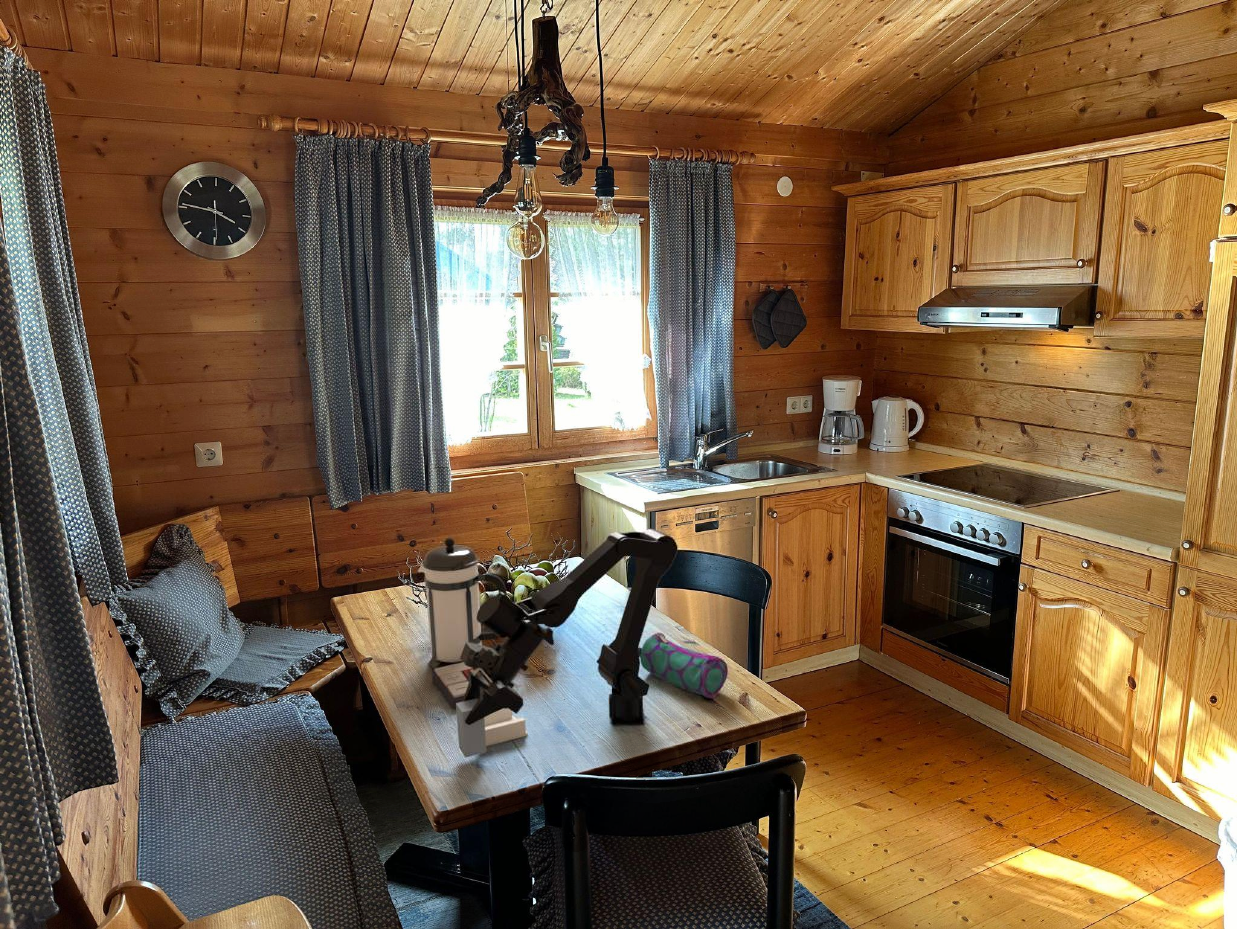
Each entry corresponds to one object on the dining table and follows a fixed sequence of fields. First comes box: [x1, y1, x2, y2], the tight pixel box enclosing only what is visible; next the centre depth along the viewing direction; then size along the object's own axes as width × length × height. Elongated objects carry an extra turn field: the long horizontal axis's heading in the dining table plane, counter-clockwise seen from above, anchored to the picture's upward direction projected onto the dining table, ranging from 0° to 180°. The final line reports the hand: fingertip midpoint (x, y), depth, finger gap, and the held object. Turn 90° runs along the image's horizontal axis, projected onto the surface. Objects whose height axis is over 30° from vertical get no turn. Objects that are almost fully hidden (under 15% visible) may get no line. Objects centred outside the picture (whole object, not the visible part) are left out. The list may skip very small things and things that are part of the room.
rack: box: [484, 708, 529, 747], centre depth 173 cm, size 10×9×4 cm
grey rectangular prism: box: [455, 698, 487, 758], centre depth 163 cm, size 4×4×9 cm
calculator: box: [431, 661, 490, 711], centre depth 192 cm, size 11×4×15 cm
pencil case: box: [638, 632, 729, 699], centre depth 192 cm, size 21×9×10 cm, turn 42°
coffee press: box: [417, 537, 508, 670], centre depth 206 cm, size 17×16×30 cm
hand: (463, 718), depth 162 cm, fingers closed on grey rectangular prism, 4 cm apart
